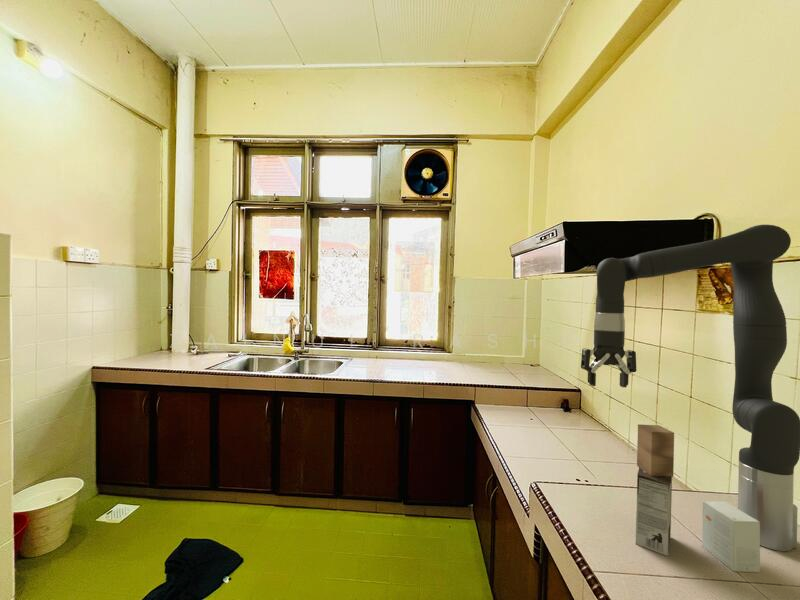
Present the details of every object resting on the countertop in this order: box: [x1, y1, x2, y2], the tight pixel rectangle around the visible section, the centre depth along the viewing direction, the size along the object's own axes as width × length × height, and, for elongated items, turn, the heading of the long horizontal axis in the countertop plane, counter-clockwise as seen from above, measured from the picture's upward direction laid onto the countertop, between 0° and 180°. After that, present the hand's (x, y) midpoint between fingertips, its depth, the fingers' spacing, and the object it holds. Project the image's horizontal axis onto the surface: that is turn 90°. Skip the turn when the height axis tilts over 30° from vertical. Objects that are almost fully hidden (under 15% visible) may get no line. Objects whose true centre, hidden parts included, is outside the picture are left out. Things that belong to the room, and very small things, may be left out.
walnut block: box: [636, 423, 675, 478], centre depth 83 cm, size 5×5×10 cm
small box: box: [701, 500, 761, 573], centre depth 78 cm, size 8×6×10 cm
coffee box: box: [635, 467, 673, 557], centre depth 83 cm, size 9×6×16 cm
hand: (607, 386), depth 101 cm, fingers open, 8 cm apart
